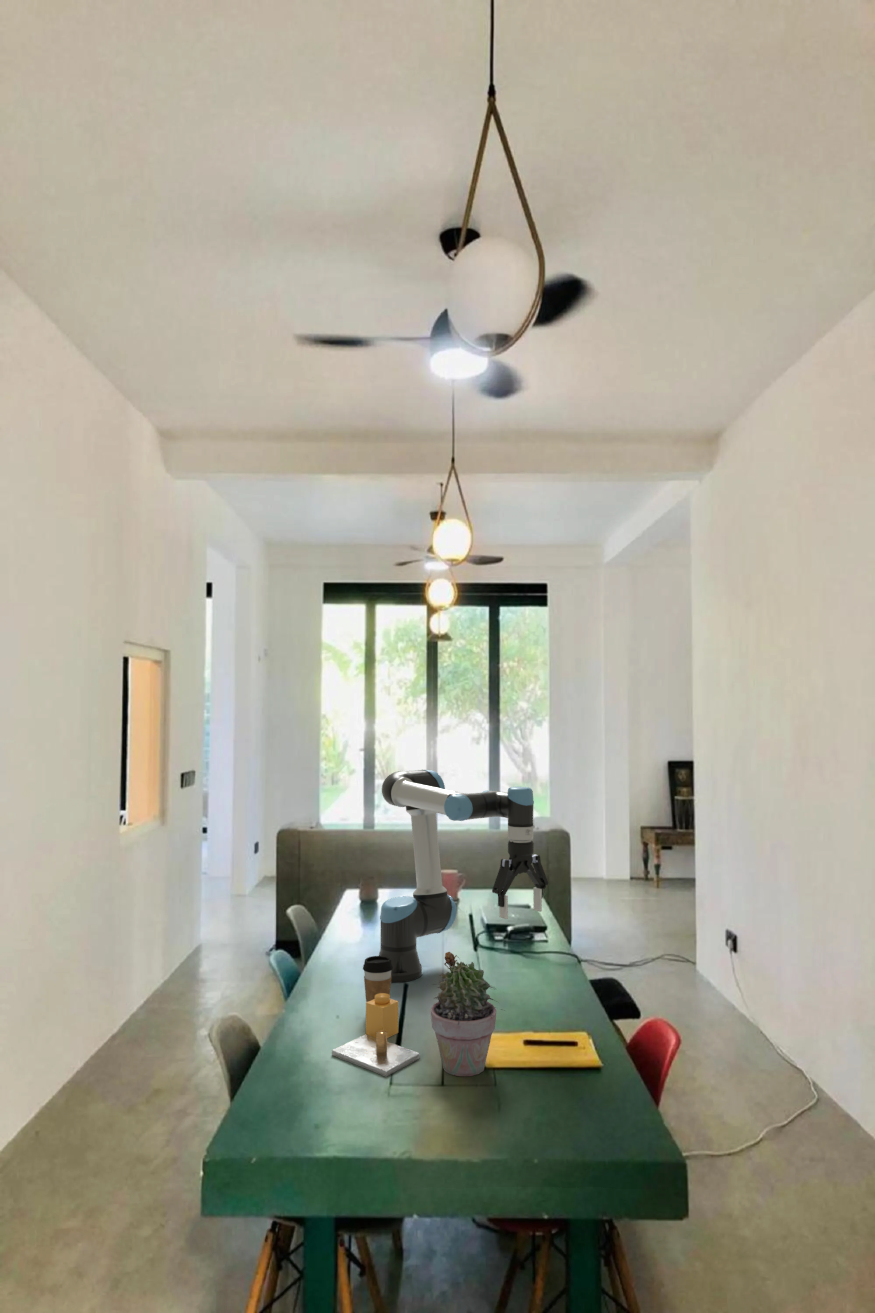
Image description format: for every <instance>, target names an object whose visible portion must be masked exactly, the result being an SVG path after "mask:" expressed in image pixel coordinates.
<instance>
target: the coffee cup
mask: <svg viewBox="0 0 875 1313" xmlns="http://www.w3.org/2000/svg"><path fill="white" fill-rule="evenodd" d="M392 969H393V965H392V962H391V958H389V957H385V956H379V955H373V956H369V957H366V958H365V959H364V962H363V966H362V970H363V971H364V975H363V979H364V980H363V981H364V992H365V994H364V995H365V1002H369V1001H371V1000H373V999H375V995H376V994H380V993H386V994H389V995H390V996H391V985H392V982H391V977H392V976H391V970H392Z"/></svg>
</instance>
